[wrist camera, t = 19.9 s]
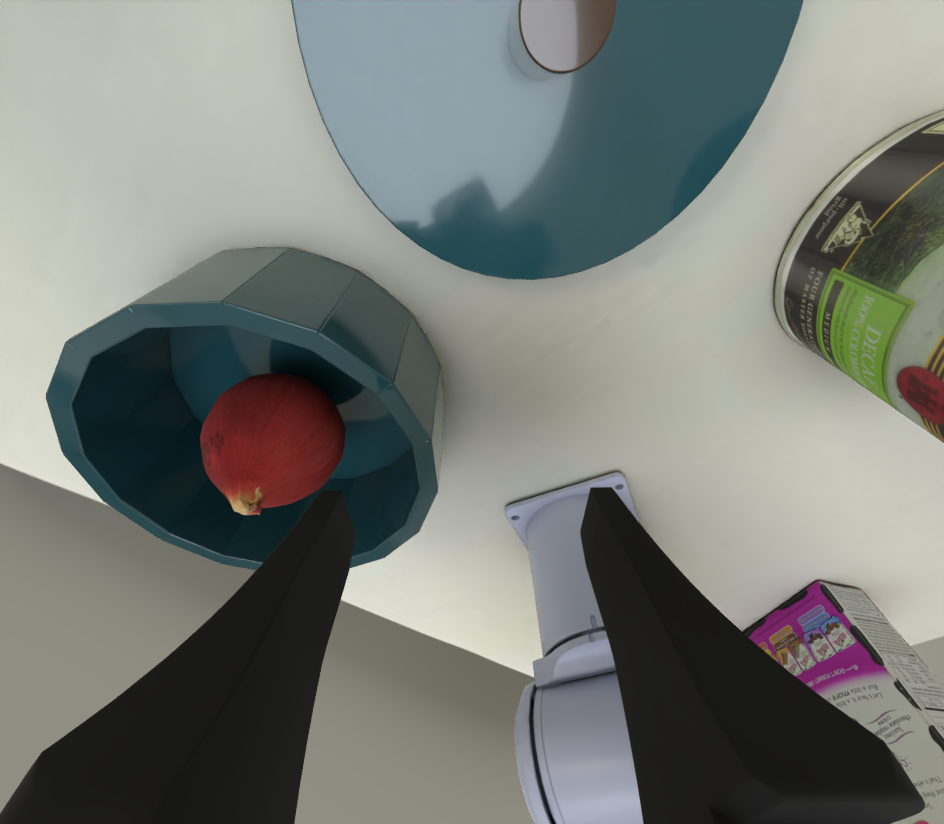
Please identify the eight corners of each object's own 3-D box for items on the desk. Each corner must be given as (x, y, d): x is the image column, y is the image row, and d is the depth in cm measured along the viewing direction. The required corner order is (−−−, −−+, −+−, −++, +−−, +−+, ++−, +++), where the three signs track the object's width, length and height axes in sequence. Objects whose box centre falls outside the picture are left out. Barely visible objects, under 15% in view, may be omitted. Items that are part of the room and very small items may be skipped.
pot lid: (795, 168, 16) (891, 186, 12) (440, 325, 20) (434, 373, 16) (805, -725, 8) (1119, -1500, 4) (180, -151, 11) (45, -273, 8)
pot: (486, 439, 24) (490, 527, 19) (287, 509, 28) (247, 599, 23) (338, 183, 16) (279, 218, 11) (87, 328, 20) (-45, 403, 15)
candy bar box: (772, 646, 40) (920, 906, 27) (729, 640, 39) (860, 906, 26) (866, 586, 34) (1119, 888, 21) (818, 577, 33) (1050, 886, 20)
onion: (275, 440, 24) (204, 564, 17) (224, 352, 20) (111, 466, 14) (373, 427, 23) (336, 550, 17) (337, 335, 20) (275, 444, 13)
